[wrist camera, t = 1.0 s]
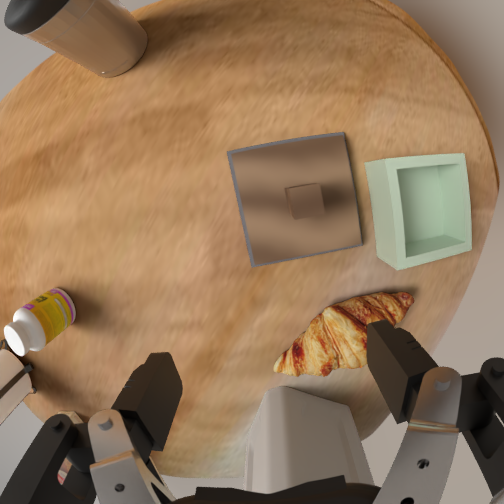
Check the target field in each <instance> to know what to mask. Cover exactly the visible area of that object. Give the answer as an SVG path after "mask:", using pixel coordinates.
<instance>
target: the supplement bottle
mask: <svg viewBox="0 0 504 504" xmlns="http://www.w3.org/2000/svg"><path fill="white" fill-rule="evenodd" d="M75 316H76V311H75V307H74V304H73V302H72V300H71V298H70V297H69V296H68V294H67V293H66V292H64V291H63V290H61V289H59V288H53V289H51V290H49V291H47V292H46V293H44V294H42V295H41V296H39V297H37V298H36V299H34V300H32V301H31V302H29V303H28V304H26V305H24V306H23V307H21V308H20V309H18V310H17V311H16V312H15V314H14V317H13V322H11V323H9V324H8V325H6V326H5V328H4V334H5V338H6V340H7V342H8V344H9V346H10V347H11V349H12V350H13V351H14V352H15V353H16V354H17V355H19V356H24V355H25V354H26V353H28V352H29V350H33V351H40V350H41V349H43V348H44V347H45V346H46V345H47V344H48V343H49V342H51V341H52V340H53V339H54V338H55V337H57V336H58V335H59V334H60V333H61V332H63V331H64V330H65V329H66V328H67V327H69V326H70V325H71V324H72V323H73V322H74V320H75Z"/></svg>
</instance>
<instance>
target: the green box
mask: <svg viewBox="0 0 504 504" xmlns="http://www.w3.org/2000/svg"><path fill="white" fill-rule="evenodd" d="M364 164H365V169H366V175H367V180H368V186H369V193H370V199H371V206H372V214H373V221H374V230H375V240H376V250H377V257H378V258H380V259H381V260H383V261H384V262H386V263H387V264H389V265H390V266H392V267H393V268H394V269H396V270H401V269H405V268H409V267H413V266H417V265H420V264H424V263H428V262H431V261H435V260H439V259H442V258H446V257H449V256H453V255H456V254H459V253H463V252H466V251H469V250H472V227H471V206H470V194H469V184H468V175H467V168H466V161H465V155H464V153H457V154H437V155H422V156H409V157H398V158H388V159H381V160H375V161H370V162H365V163H364Z"/></svg>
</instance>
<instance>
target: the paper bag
mask: <svg viewBox="0 0 504 504" xmlns="http://www.w3.org/2000/svg"><path fill="white" fill-rule="evenodd" d="M340 475H344V476H345V481H346V483H350V482H354V483H365V484H371V485H374V482H373V478H372V475H371V472H370V468H369V465H368V462H367V459H366V456H365V453H364V450H363V447H362V443H361V440H360V437H359V434H358V431H357V428H356V425H355V422H354V419H353V417H352V414H351V411H350V408H349V407H348V406H347V405H344V404H340V403H337V402H333V401H330V400H326V399H323V398H320V397H317V396H314V395H310V394H307V393H304V392H301V391H298V390H295V389H292V388H290V387H287V386H279V387H276V388H273V389H270V390H268V391H266V392H265V394H264V397H263V399H262V402H261V404H260V406H259V409H258V411H257V414H256V416H255V418H254V421H253V423H252V426H251V428H250V430H249V432H248V435H247V444H246V459H245V474H244V489H243V490H245V491H251V492H258V493H265V494H270V493H274V492H278V491H281V490H284V489H288V488H291V487H294V486H297V485H300V484H303V483H305V482H309V481H315V480H321V479H326V478H331V477H336V476H340Z"/></svg>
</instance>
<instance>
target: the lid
mask: <svg viewBox="0 0 504 504" xmlns="http://www.w3.org/2000/svg"><path fill="white" fill-rule="evenodd" d="M231 156H232V161H233V166H234V170H235V175H236V179H237V184H238V189H239V193H240V198H241V203H242V207H243V212H244V217H245V221H246V226H247V231H248V235H249V240H250V245H251V249H252V254H253V259H254V263H255V265H258V264H263V263H268V262H273V261H278V260H284V259H289V258H294V257H299V256H304V255H309V254H314V253H319V252H324V251H329V250H334V249H339V248H344V247H349V246H353V245H358V244H361V236H360V228H359V220H358V213H357V206H356V200H355V193H354V187H353V182H352V176H351V171H350V166H349V160H348V156H347V151H346V146H345V142H344V137H343V135H339V136H331V137H323V138H315V139H308V140H302V141H295V142H289V143H283V144H277V145H272V146H267V147H261V148H256V149H251V150H247V151H242V152H237V153H233V154H231Z"/></svg>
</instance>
